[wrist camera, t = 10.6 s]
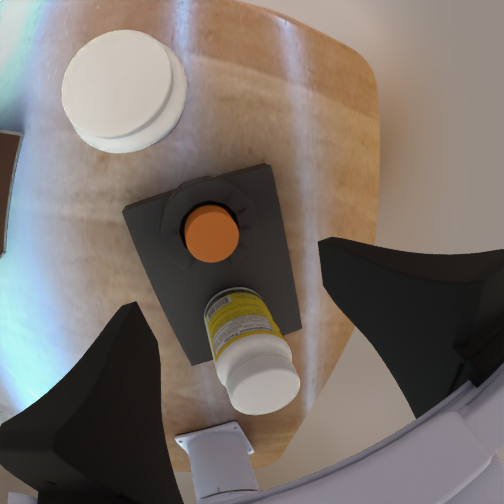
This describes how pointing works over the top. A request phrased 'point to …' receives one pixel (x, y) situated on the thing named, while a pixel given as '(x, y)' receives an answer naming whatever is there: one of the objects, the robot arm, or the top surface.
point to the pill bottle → (124, 91)
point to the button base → (222, 272)
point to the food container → (7, 177)
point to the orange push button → (211, 233)
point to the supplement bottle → (250, 352)
